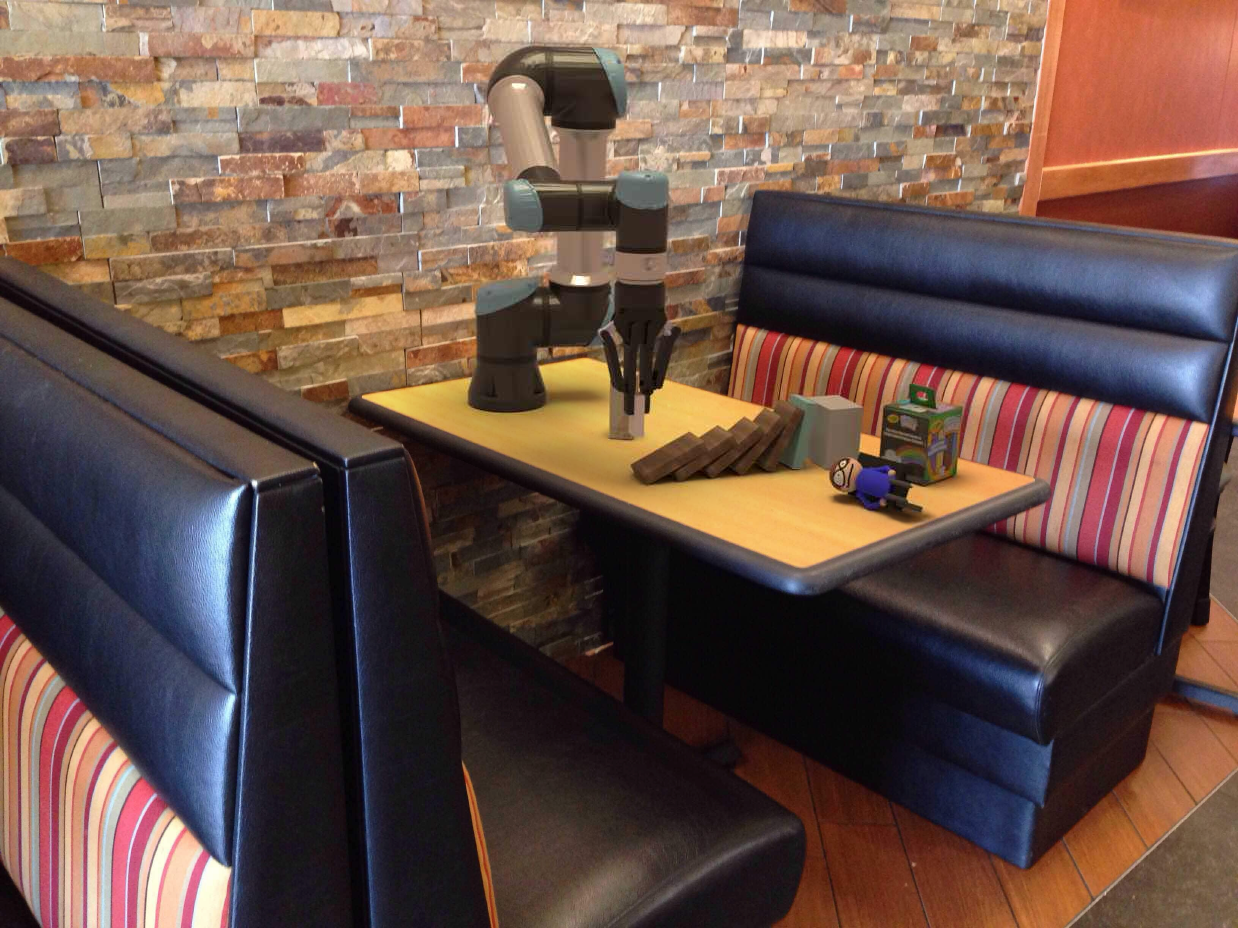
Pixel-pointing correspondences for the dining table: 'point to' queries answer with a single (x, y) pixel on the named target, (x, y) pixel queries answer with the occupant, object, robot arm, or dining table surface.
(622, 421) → the box
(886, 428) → the chalk box
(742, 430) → the tile
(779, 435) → the tile
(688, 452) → the tile
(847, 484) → the character figurine
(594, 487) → the dining table surface
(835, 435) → the end block
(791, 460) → the tile
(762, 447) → the tile
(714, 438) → the tile
